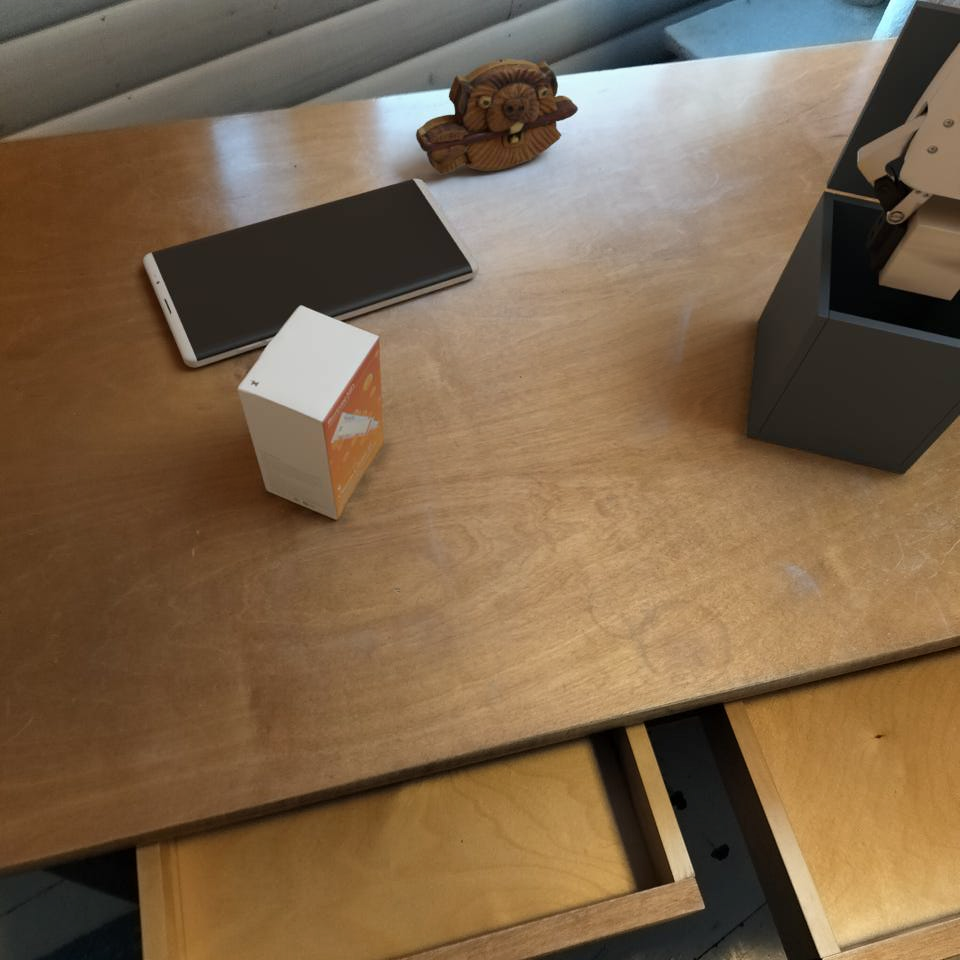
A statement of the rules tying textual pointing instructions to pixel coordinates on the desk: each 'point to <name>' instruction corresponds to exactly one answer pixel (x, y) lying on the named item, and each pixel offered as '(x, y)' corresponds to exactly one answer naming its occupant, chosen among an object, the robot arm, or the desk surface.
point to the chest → (852, 351)
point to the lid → (899, 88)
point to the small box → (315, 410)
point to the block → (928, 251)
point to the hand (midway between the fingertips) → (916, 263)
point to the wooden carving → (497, 117)
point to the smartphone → (306, 268)
